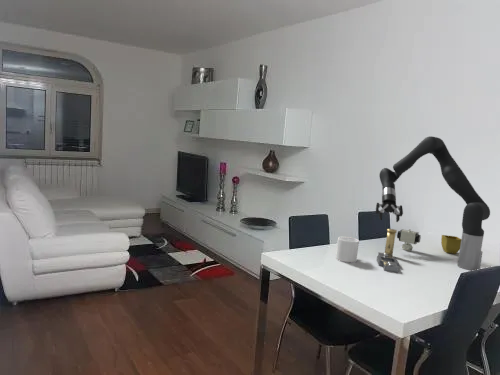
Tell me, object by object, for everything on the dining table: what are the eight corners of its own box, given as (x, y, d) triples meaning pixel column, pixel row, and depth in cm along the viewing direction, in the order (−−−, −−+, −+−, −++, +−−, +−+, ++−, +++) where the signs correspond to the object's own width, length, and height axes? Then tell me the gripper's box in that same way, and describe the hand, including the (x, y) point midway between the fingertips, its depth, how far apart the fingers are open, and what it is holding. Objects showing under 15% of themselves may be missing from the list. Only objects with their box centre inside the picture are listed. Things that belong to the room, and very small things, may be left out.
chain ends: (393, 259, 200) (393, 253, 199) (401, 273, 177) (402, 266, 177) (374, 256, 201) (375, 250, 201) (380, 270, 179) (381, 263, 178)
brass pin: (392, 255, 207) (395, 229, 205) (393, 257, 202) (397, 231, 201) (383, 253, 208) (386, 228, 206) (384, 256, 203) (387, 230, 202)
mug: (348, 264, 184) (351, 242, 183) (331, 258, 191) (333, 237, 190) (363, 260, 192) (365, 240, 191) (346, 254, 200) (348, 235, 198)
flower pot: (454, 251, 229) (456, 236, 228) (461, 255, 220) (463, 240, 219) (439, 249, 229) (441, 234, 228) (444, 253, 221) (447, 238, 220)
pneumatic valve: (416, 253, 216) (419, 232, 214) (395, 248, 223) (398, 227, 221) (419, 251, 220) (422, 230, 219) (397, 246, 227) (400, 226, 226)
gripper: (377, 191, 223) (377, 214, 213) (403, 194, 220) (404, 218, 210) (374, 199, 228) (374, 222, 219) (400, 202, 226) (401, 225, 216)
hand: (389, 220), depth 214 cm, fingers open, 8 cm apart
